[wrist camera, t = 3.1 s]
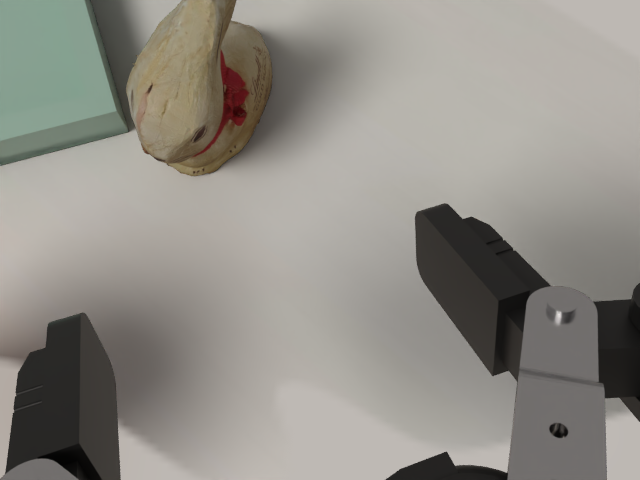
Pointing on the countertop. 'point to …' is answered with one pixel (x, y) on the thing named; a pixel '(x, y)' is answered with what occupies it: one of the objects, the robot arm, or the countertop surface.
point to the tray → (53, 79)
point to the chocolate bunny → (199, 87)
